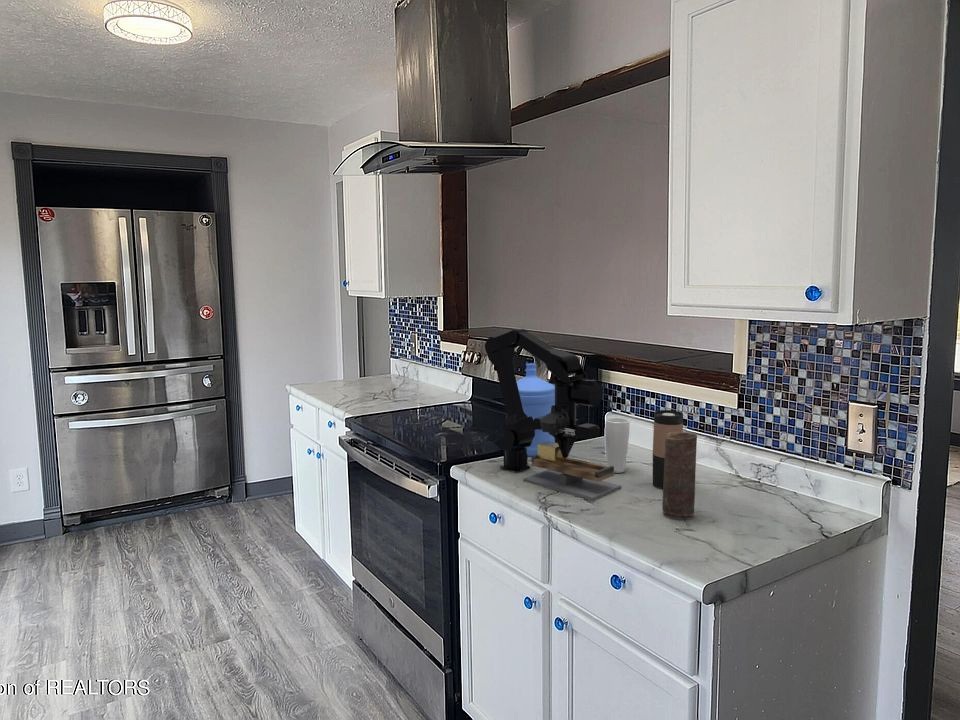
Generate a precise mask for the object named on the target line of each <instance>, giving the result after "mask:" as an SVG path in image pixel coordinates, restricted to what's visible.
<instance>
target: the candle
mask: <svg viewBox="0 0 960 720" xmlns="http://www.w3.org/2000/svg"><path fill="white" fill-rule="evenodd" d="M697 441H698V436H697V434H696V433H695V432H688V431H687V432H685V431H684V432H681V433H679V432H670V433H668V434H667V435H666V437H665V461H664V482H663V489H662V503H661V504H662V505H661V507H662V512H663V513H664V514H666V515H670V516H675V517H693V516H694V514H695V501H696V500H695V499H696V498H695V497H696V472H697V471H696V468H697Z"/></svg>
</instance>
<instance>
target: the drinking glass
mask: <svg viewBox="0 0 960 720" xmlns="http://www.w3.org/2000/svg"><path fill="white" fill-rule="evenodd" d="M604 432H605V433H604V436H605V451H606V467H609V466H614V474H623V473H625V472H626V469H627V457H628V449H629V438H630V420H629V419H628V418H625V417H624V418H623V417H608V418H606V419H605V427H604Z"/></svg>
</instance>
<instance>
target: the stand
mask: <svg viewBox="0 0 960 720" xmlns="http://www.w3.org/2000/svg"><path fill="white" fill-rule="evenodd" d="M522 481H523V482H525V483H529V484H531V485H536V486H539V487H543V488H546V489H550V490H554V491H556V492H557V491H558V492H560V493H564V494H568V495H571V496H575V497H578V498H582V499H585V500H588V501H592V502H593V501H595V500H598V499H600V498H602V497H604V496H607V495H609V494H612V493H614V492H616V491H618V490H621V489H622V485H620V484H616V483H613V482H609V481H605V480H602V481H599V482H597V481H593V480H589V479H584V478H580V477H576V476H572V475H568V474H564V473H560V472H556V471H552V470H548V469H545V470H544V471H540V472H537V473H534V474H532V475H530V476H526V477H523V478H522Z"/></svg>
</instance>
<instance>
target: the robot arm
mask: <svg viewBox="0 0 960 720" xmlns="http://www.w3.org/2000/svg"><path fill="white" fill-rule="evenodd" d="M518 347H520V348H521V349H523V350H524V351H526V352H527V353H529V354H531V355H532V356H534V357H535V358H537V359H538V360H539V361H542V362H543V364H544V365H545V368H546V369H547V370H548V371H549V372H550V373H551V374H552V375H553V376H552V378H550V379H549V380H548V381H547V382H548V383H550V384H552V385H554V386H555V405H552V407H551V412H550V413H549V414H547V415H546V416H542V417H538V418H535V419H534V420H533V418H532V416H531V417H528V416H527V415H526V414H525V413H524V411H523V407H522V403H521V399H520V394H519V390H518V386H517V381H518V380H517V377H516V373H515V369H514V364H513V363H514V360H515V356H516V348H518ZM484 350H485V353H486V356H487V359H488V360H489V362H490V363H491V364H492V365H493V366H494V367H495V370H496V374H497V378H498V384H499V387H500V392H501V396H502V400H503V405H504V408H505V409H504V410H505V413H506V417H507V418H505V422H504V425H503V426H504V427H503V429H504V435H503V436H501V438H500V439H499V440H498V442H497V444H498V447H499V450H503V465H500V466H499V468H500V469H502V470H506V471H508V472H509V471H510V472H513V473H518V472H521V471H524V470H527V469H530V468H531V465H528V461H529V460H528V457H529V456H528V455H527V448H525V447H530V446H531V443H532V440H533V438H534V437H535V430H536V429H538V430H541V429H542V431H543V432H549V434H550V435H552V436H553V437H554V438H555V441H556V443H558V445H559V448H560V451H561V454H562V457H563V458H569V455H570V453H571V450H572V449H573V446H574V445H575V442H576V441H577V439H578V438H579V439H585V440H589V439H592V438H595V437H598V436H601V435H600V433H601V432H600V431H601V430H600V427H599V425H598V424H593V423H589V422H588V423H587V422H586V423H583V424H579V423H580V419H579V418H578V419H577V409H579V408H580V405H581V406H582V405H583V406H589V407H598V406H599V405H600V404H601V402H602V400H603V390H602V387H601V386H600V385H599V384H598V380H597V379H589V377H588V375H587V374H586V372H585V370H584V368H583V366H582V364H581V363H580V358H579V357H578V356H577V355H575V354H573V353H572V352H568V351H566V350H561V349H556V348H555V347H553V346H551V345H550V344H548V343H546V342H544V340H541V339H540V338H538V337H536V336H535V335H534V334H532V333H530V332H529V331H528V330H527V329H526V328H517V329H516V328H515V329H512V330H510V331H509V332H505V333H503V334H500V335H496V336H489V337H488V338H487V339H486V341H485V343H484ZM577 424H578V425H577Z"/></svg>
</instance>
